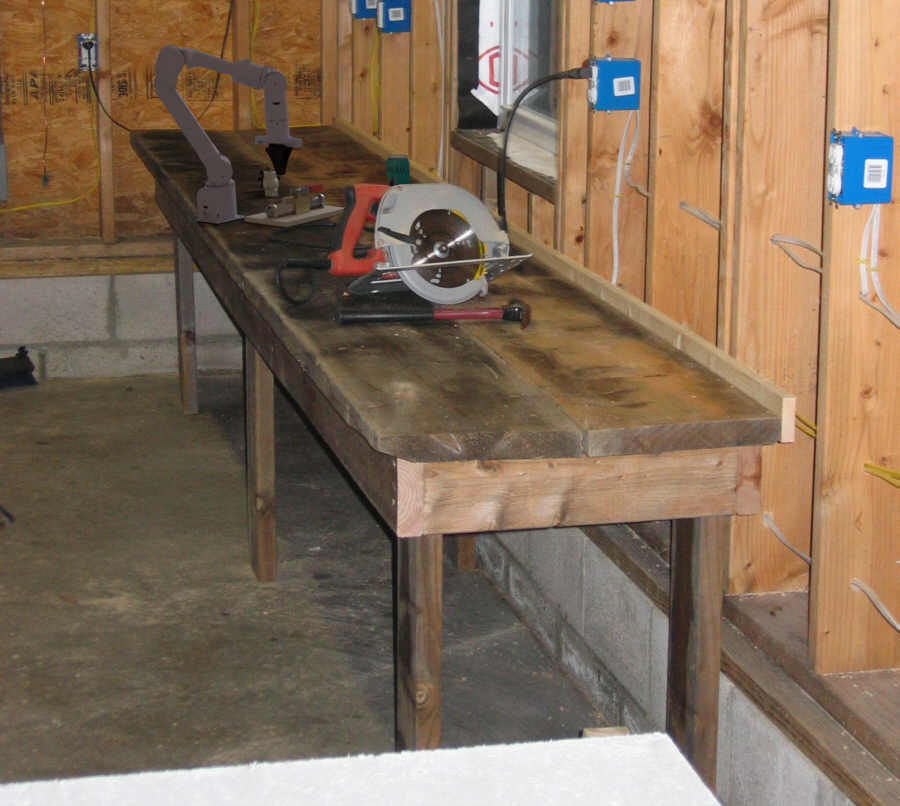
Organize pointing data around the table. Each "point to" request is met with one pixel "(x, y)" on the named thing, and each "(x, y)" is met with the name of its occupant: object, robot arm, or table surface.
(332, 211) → the mounting board
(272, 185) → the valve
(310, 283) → the table surface
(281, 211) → the valve body
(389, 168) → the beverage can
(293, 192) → the valve lever
